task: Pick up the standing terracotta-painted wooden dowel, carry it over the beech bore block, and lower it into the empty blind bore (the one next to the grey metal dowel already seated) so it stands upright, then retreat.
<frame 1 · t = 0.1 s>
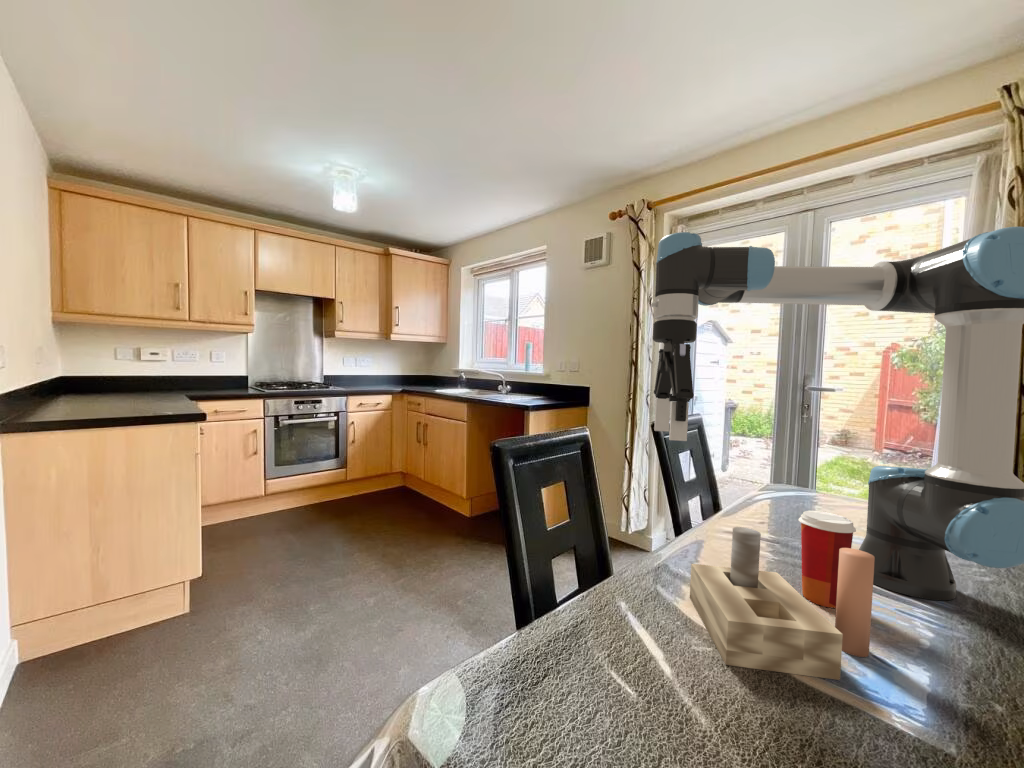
hand: (669, 435, 79), 28 cm above the table, fingers open, 13 cm apart
dowel: (851, 648, 62), on the table
bore block: (753, 632, 65), on the table
coffee cup: (821, 600, 77), on the table
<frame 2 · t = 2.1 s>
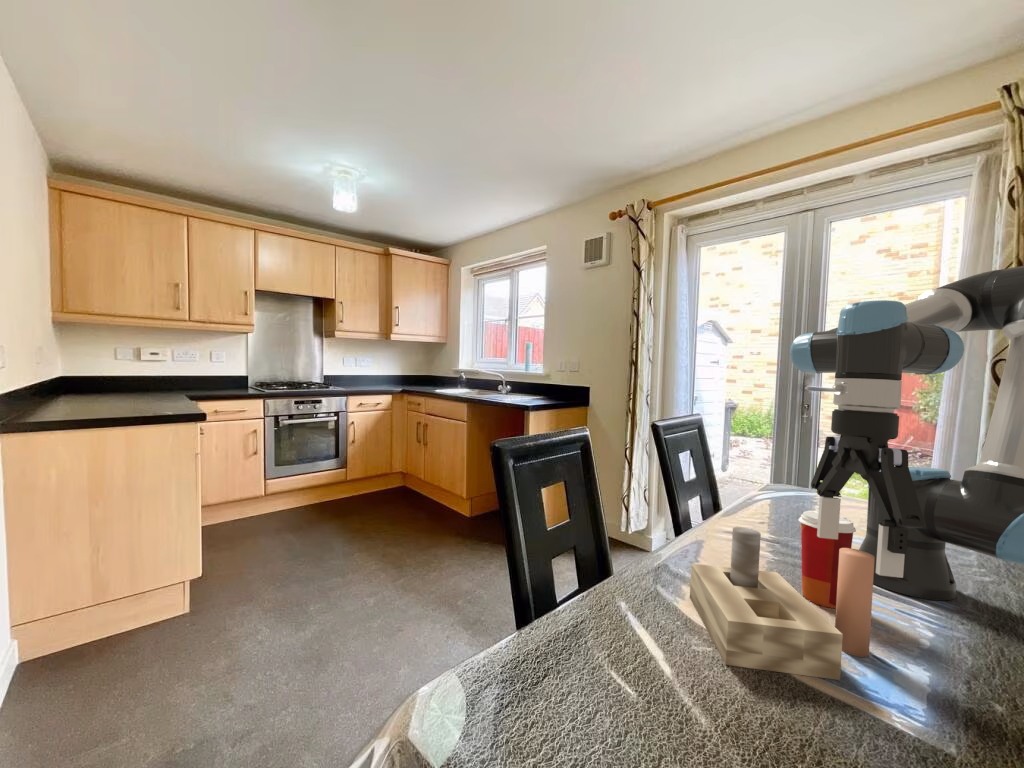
hand: (854, 554, 62), 14 cm above the table, fingers open, 13 cm apart
nothing on the table moved.
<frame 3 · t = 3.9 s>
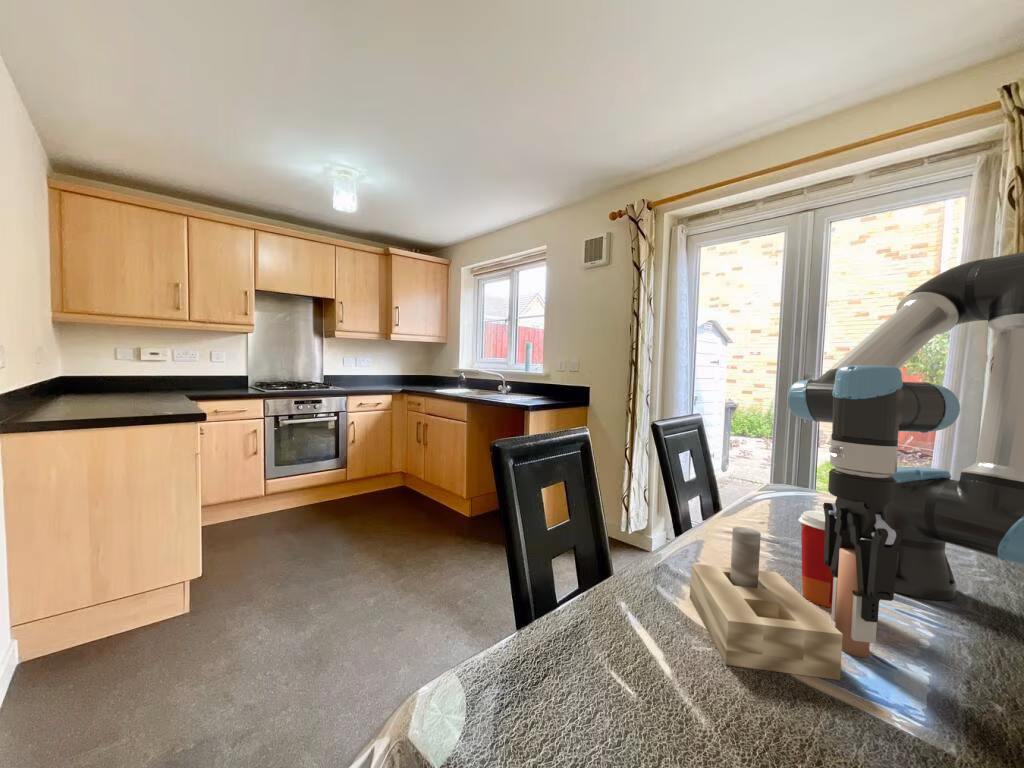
hand: (852, 630, 62), 3 cm above the table, fingers closed on dowel, 4 cm apart
dowel: (851, 648, 62), on the table, touching gripper
everything else where it was.
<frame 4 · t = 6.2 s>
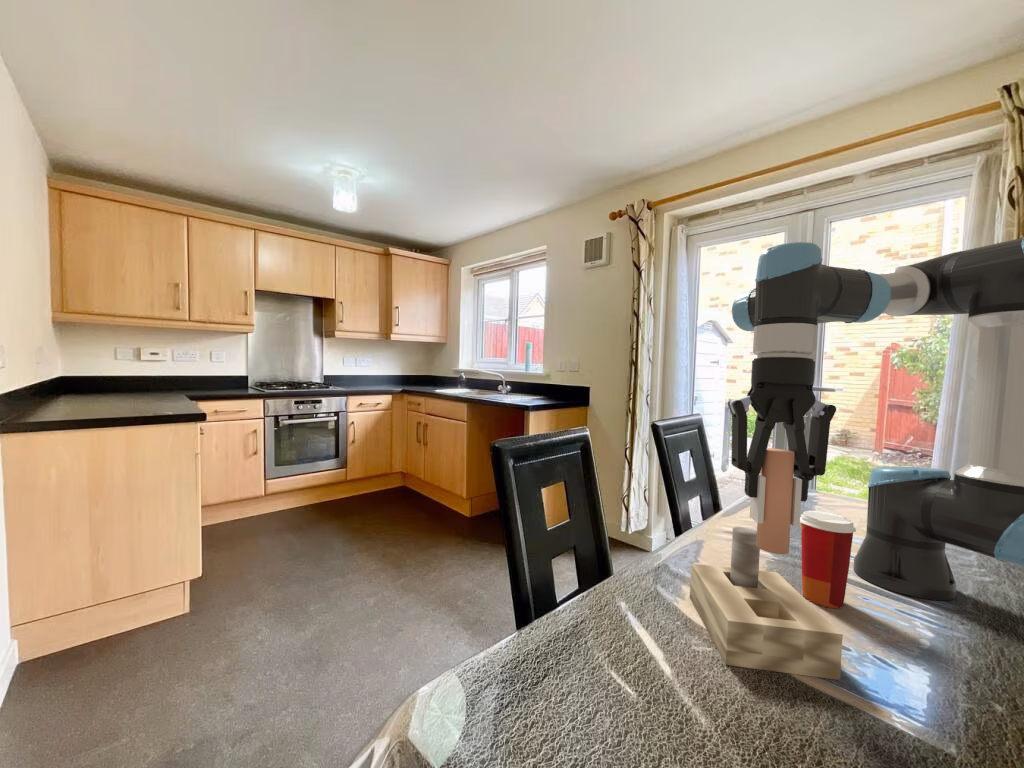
hand: (773, 521, 60), 19 cm above the table, fingers closed on dowel, 4 cm apart
dowel: (772, 548, 61), point 15 cm above the table, touching gripper
everything else where it was.
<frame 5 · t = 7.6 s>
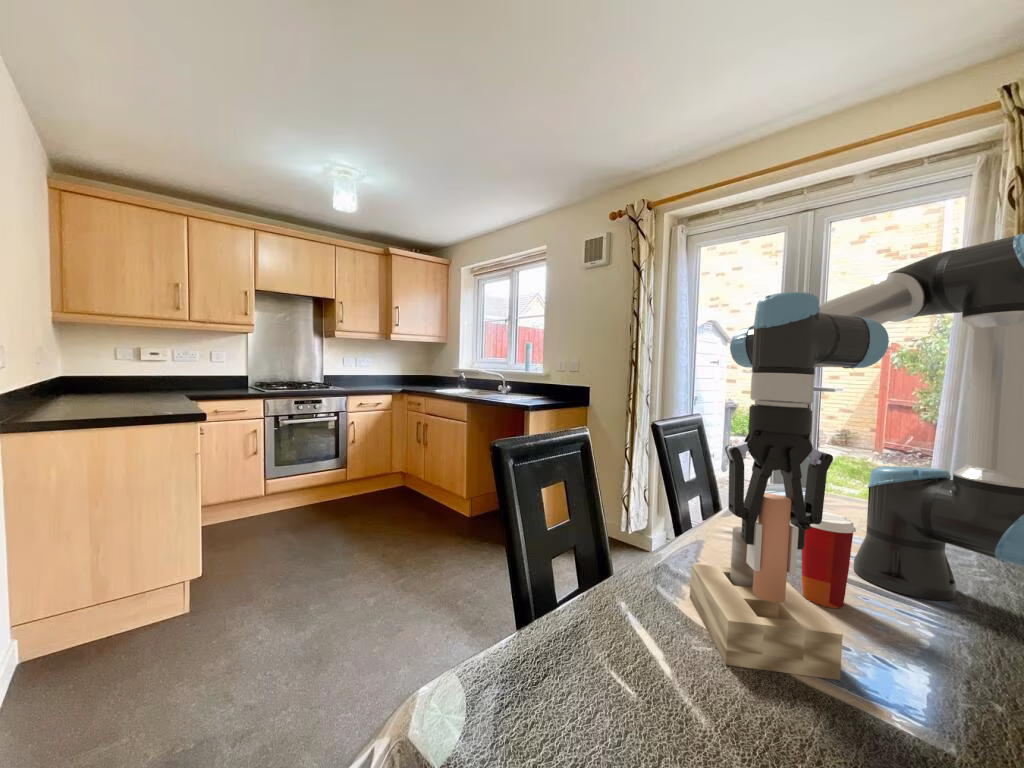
hand: (770, 568, 60), 12 cm above the table, fingers closed on dowel, 4 cm apart
dowel: (768, 595, 61), point 8 cm above the table, touching gripper
everything else where it was.
when the fingers open (7 cm above the table, at t = 8.8 s): dowel stays where it is, resting on bore block.
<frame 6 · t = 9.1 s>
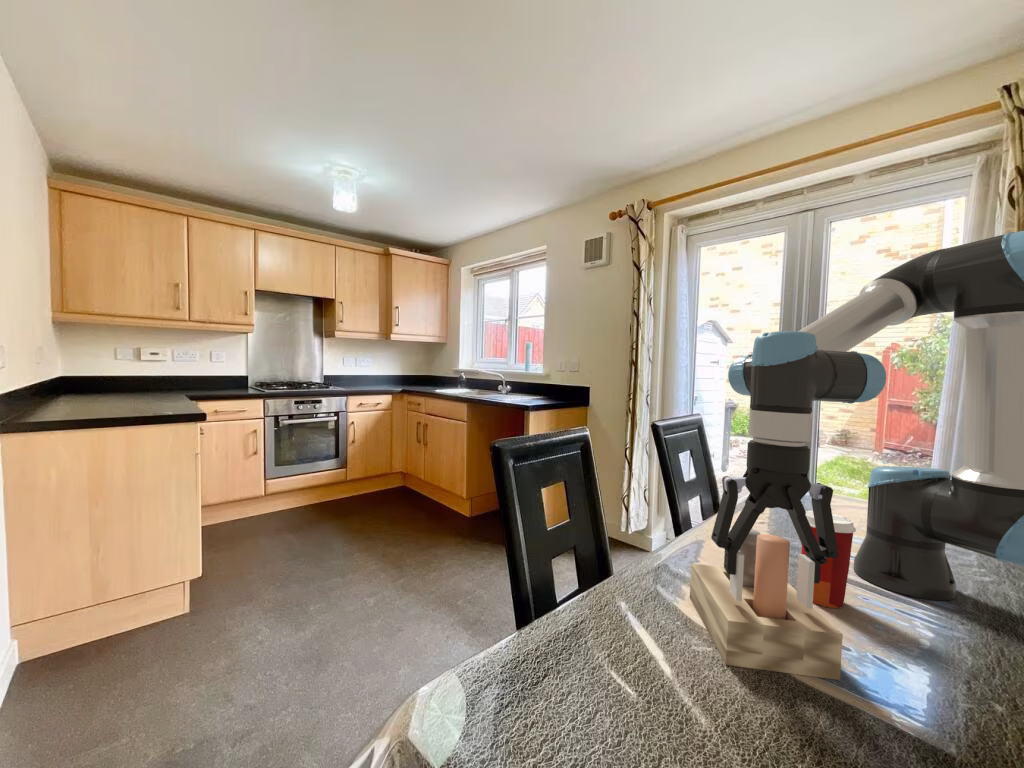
hand: (769, 599, 61), 7 cm above the table, fingers open, 8 cm apart
dowel: (767, 636, 61), point 2 cm above the table, touching bore block
everything else where it was.
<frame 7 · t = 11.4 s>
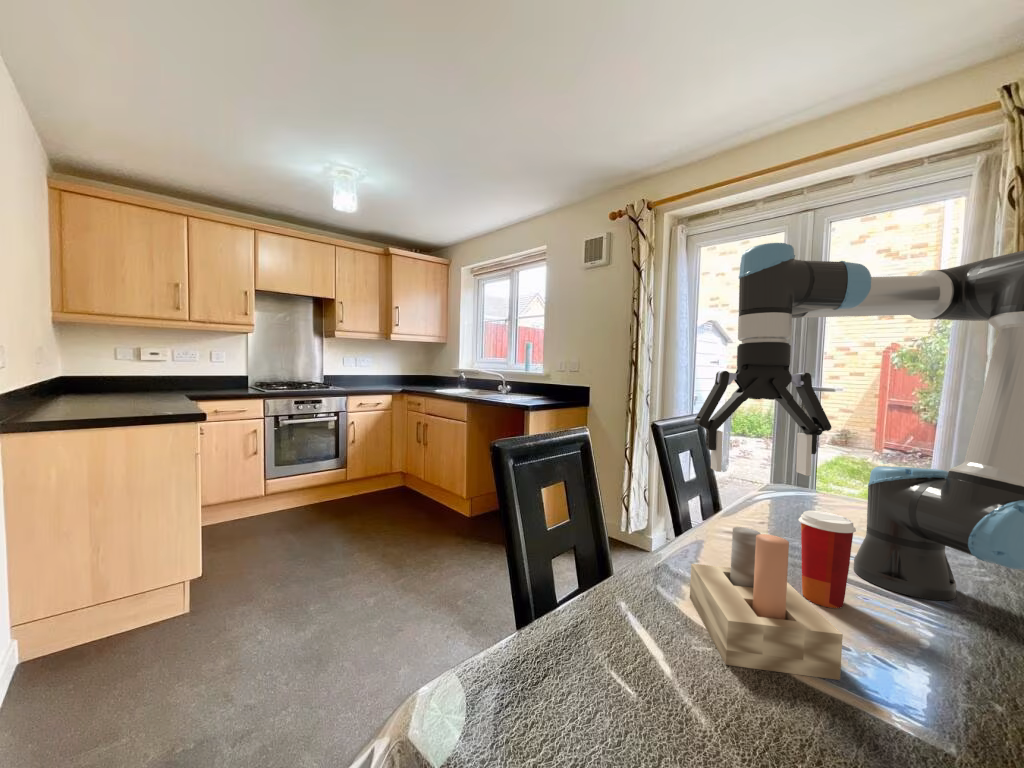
hand: (759, 472, 70), 24 cm above the table, fingers open, 13 cm apart
nothing on the table moved.
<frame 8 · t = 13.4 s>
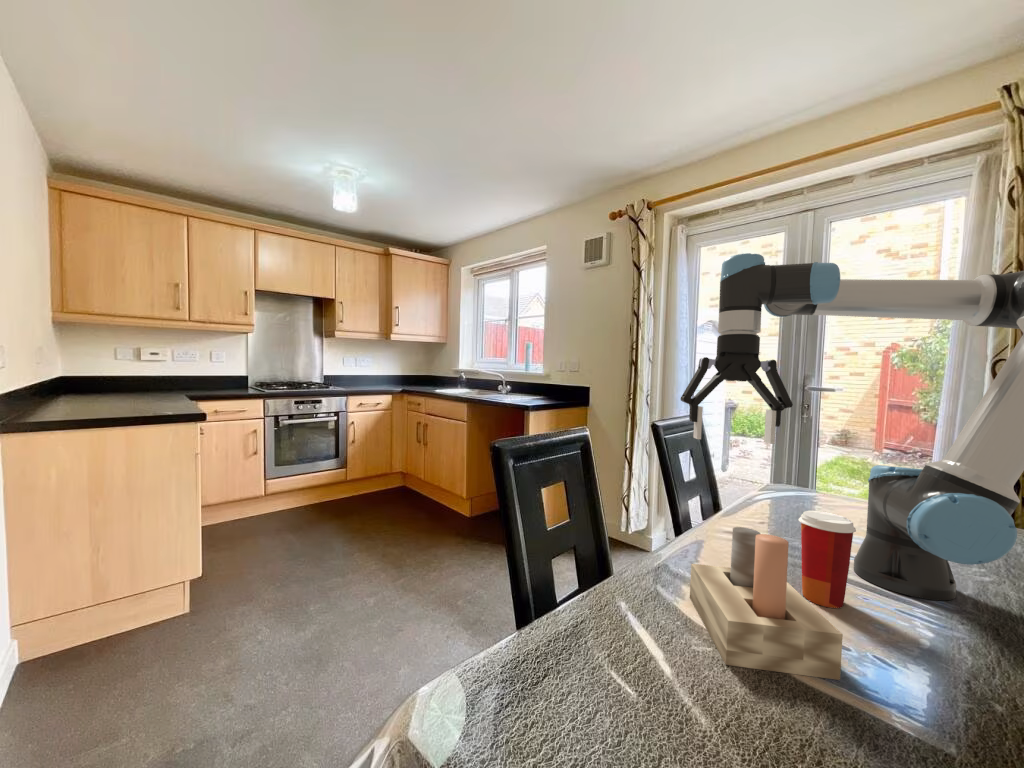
hand: (732, 440, 85), 27 cm above the table, fingers open, 13 cm apart
nothing on the table moved.
at the end: dowel 0.0 cm from the target spot on the bore block, point 2.0 cm above the bore block's base; dowel tilted 1°; the gripper is holding nothing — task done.
